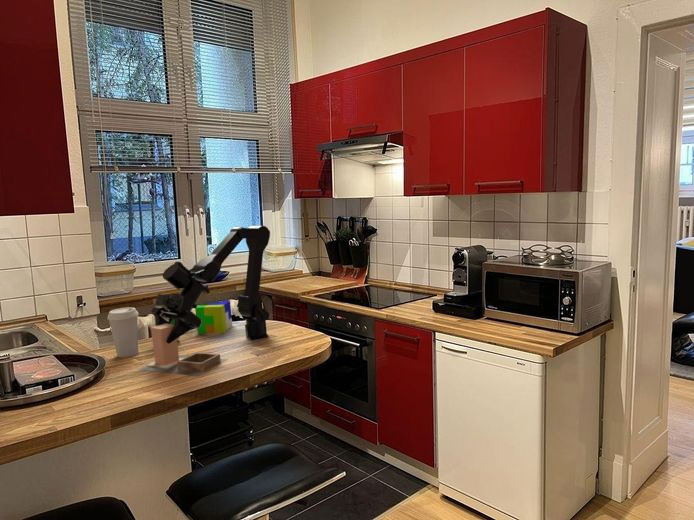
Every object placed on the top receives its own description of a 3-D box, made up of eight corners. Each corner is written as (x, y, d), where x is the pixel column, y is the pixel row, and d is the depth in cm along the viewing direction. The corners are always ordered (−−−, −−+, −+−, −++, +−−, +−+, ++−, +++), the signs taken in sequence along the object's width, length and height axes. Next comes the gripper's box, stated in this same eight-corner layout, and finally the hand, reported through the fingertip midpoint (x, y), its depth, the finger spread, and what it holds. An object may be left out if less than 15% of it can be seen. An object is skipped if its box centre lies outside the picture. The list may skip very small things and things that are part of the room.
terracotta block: (169, 357, 158) (165, 323, 156) (179, 360, 155) (175, 325, 153) (155, 362, 154) (151, 327, 152) (164, 365, 151) (160, 329, 149)
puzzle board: (227, 363, 155) (226, 351, 154) (198, 380, 142) (197, 367, 141) (170, 358, 163) (169, 346, 162) (138, 373, 150) (136, 361, 150)
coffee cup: (128, 360, 163) (123, 314, 161) (105, 358, 167) (99, 313, 165) (149, 350, 172) (144, 307, 170) (127, 349, 176) (122, 306, 174)
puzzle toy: (232, 325, 199) (230, 300, 198) (223, 333, 189) (221, 306, 188) (207, 326, 200) (205, 301, 199) (197, 333, 190) (195, 307, 189)
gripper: (152, 281, 160) (123, 323, 153) (189, 285, 149) (159, 331, 142) (177, 300, 167) (150, 342, 160) (213, 305, 156) (186, 350, 149)
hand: (160, 341), depth 152 cm, fingers open, 7 cm apart
